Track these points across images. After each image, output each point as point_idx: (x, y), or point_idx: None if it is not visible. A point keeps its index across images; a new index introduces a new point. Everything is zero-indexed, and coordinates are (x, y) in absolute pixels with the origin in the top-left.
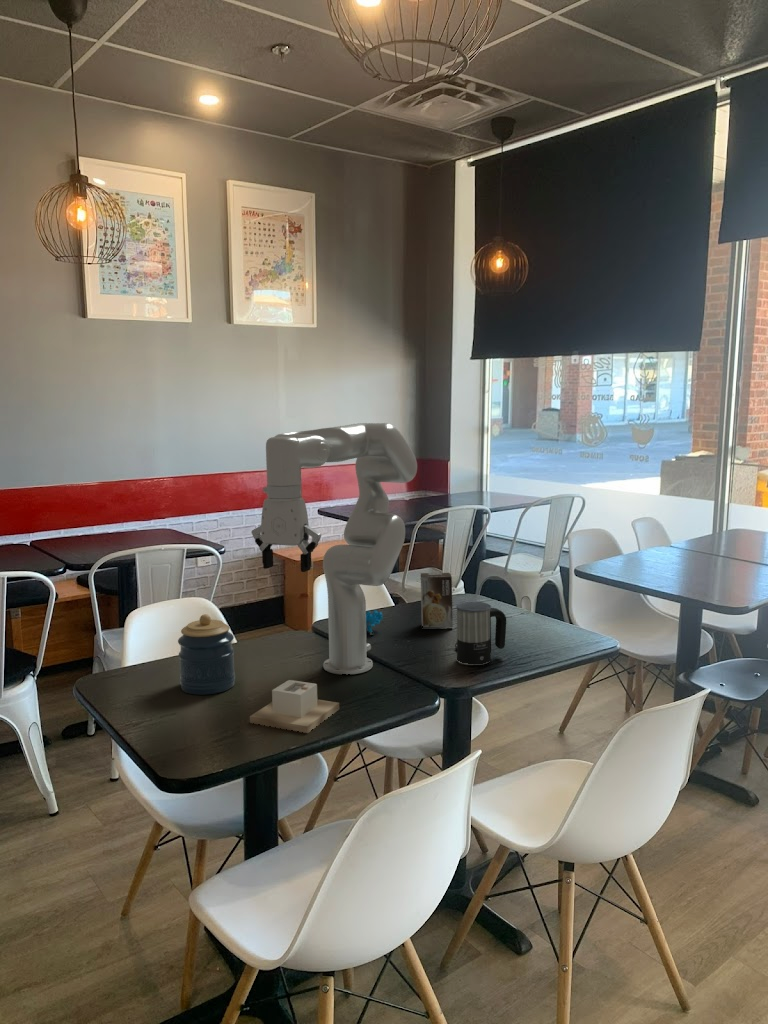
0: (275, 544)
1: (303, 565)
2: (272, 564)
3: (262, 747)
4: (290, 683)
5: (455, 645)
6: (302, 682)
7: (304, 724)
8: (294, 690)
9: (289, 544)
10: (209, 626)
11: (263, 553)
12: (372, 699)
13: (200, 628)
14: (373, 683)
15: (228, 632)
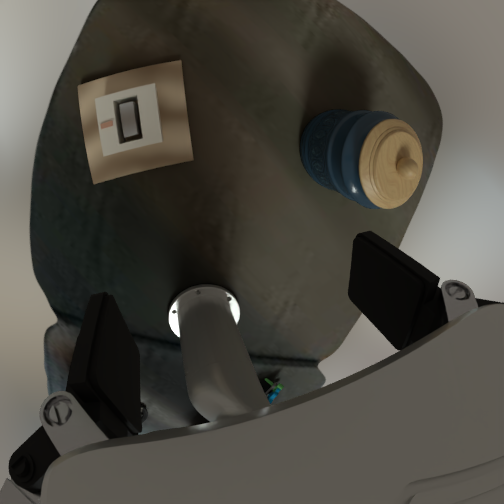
0: (392, 355)
1: (87, 322)
2: (353, 295)
3: (111, 21)
4: (146, 128)
5: (143, 408)
6: (131, 146)
7: (85, 87)
8: (125, 115)
9: (157, 440)
10: (389, 156)
11: (426, 272)
12: (86, 241)
13: (395, 137)
14: (129, 288)
15: (361, 188)
